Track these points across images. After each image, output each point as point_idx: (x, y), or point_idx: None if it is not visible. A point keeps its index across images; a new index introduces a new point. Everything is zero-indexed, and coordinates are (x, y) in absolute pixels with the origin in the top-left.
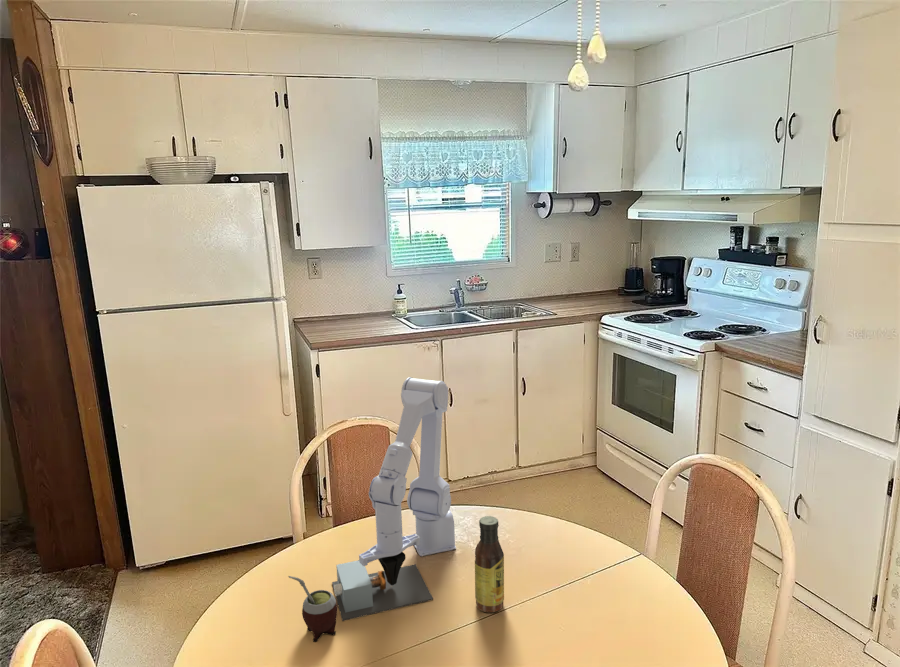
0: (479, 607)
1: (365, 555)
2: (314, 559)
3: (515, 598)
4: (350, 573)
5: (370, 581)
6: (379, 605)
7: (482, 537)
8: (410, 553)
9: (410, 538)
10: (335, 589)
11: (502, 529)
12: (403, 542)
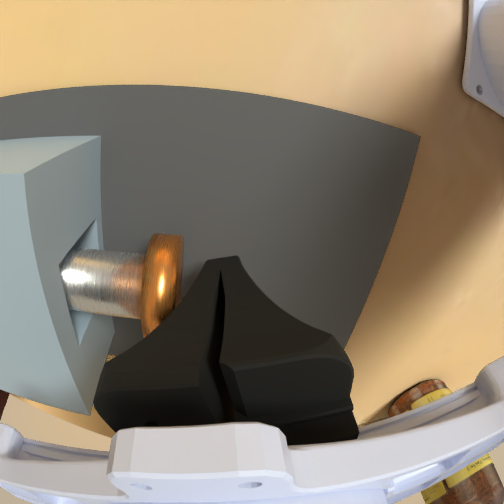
0: (390, 416)
1: (21, 494)
2: None
3: (458, 385)
4: None
5: (82, 404)
6: (139, 338)
7: None
8: (437, 29)
9: (466, 460)
10: None
11: None
12: (395, 482)
